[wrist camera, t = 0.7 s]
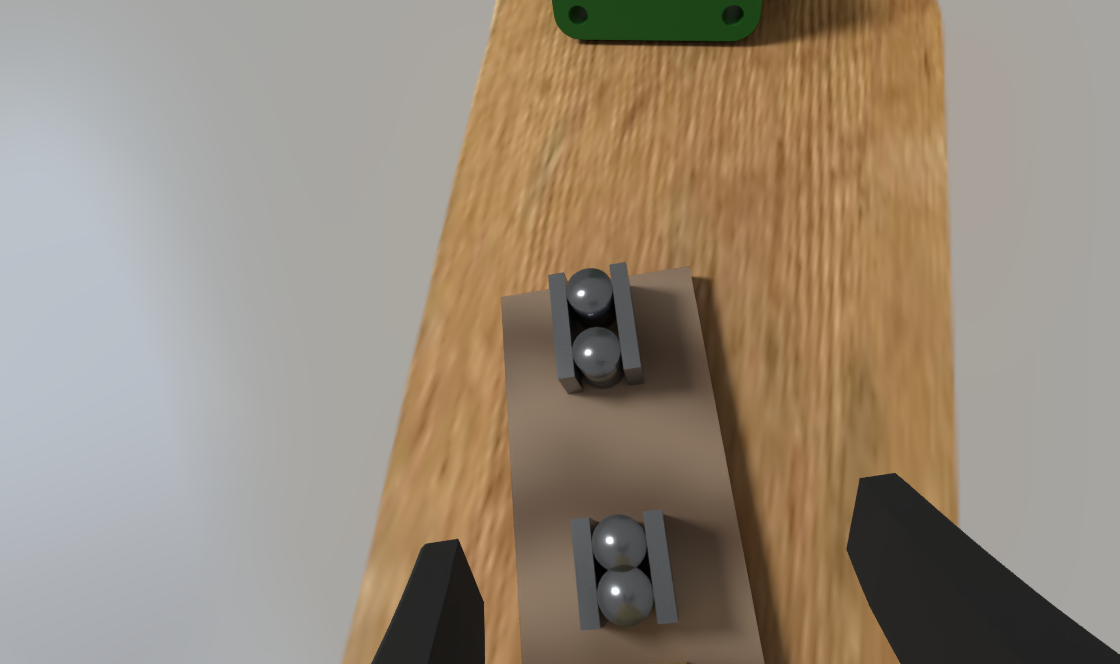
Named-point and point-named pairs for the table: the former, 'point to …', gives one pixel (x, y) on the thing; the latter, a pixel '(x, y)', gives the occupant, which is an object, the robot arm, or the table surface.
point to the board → (624, 484)
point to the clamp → (657, 19)
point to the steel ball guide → (616, 537)
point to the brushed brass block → (675, 663)
